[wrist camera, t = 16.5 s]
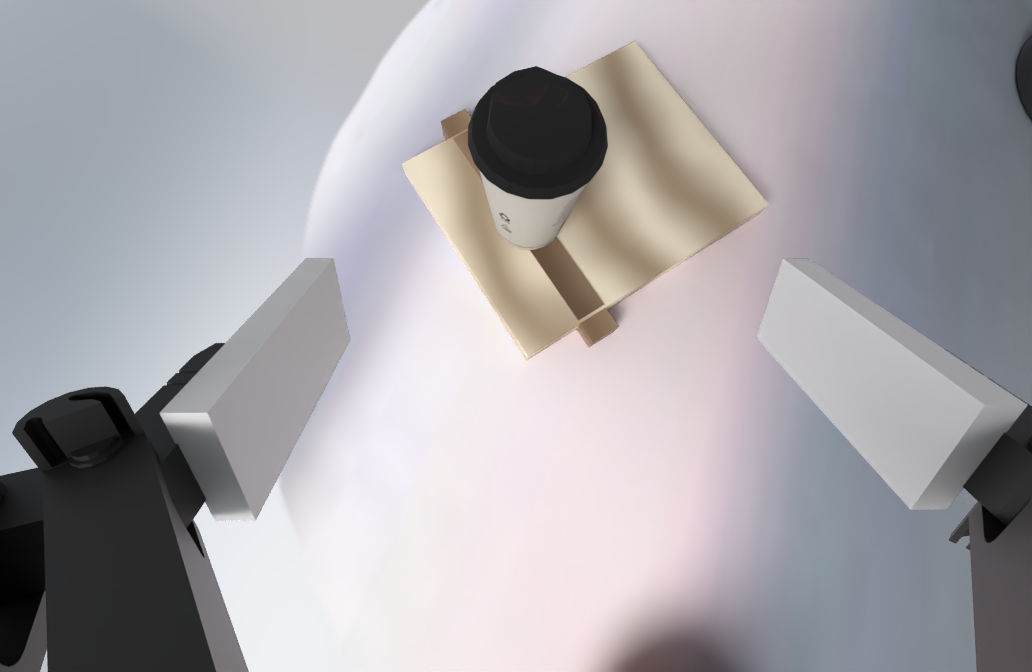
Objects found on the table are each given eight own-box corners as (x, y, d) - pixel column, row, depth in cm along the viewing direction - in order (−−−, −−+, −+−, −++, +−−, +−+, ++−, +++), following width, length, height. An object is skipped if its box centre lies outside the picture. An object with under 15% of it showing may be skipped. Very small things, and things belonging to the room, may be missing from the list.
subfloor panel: (618, 43, 36) (623, 25, 35) (770, 231, 33) (784, 220, 31) (396, 160, 33) (390, 145, 32) (539, 379, 30) (541, 375, 28)
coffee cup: (598, 239, 31) (643, 144, 21) (505, 284, 30) (507, 206, 20) (548, 157, 32) (569, 31, 22) (458, 197, 31) (439, 85, 21)
